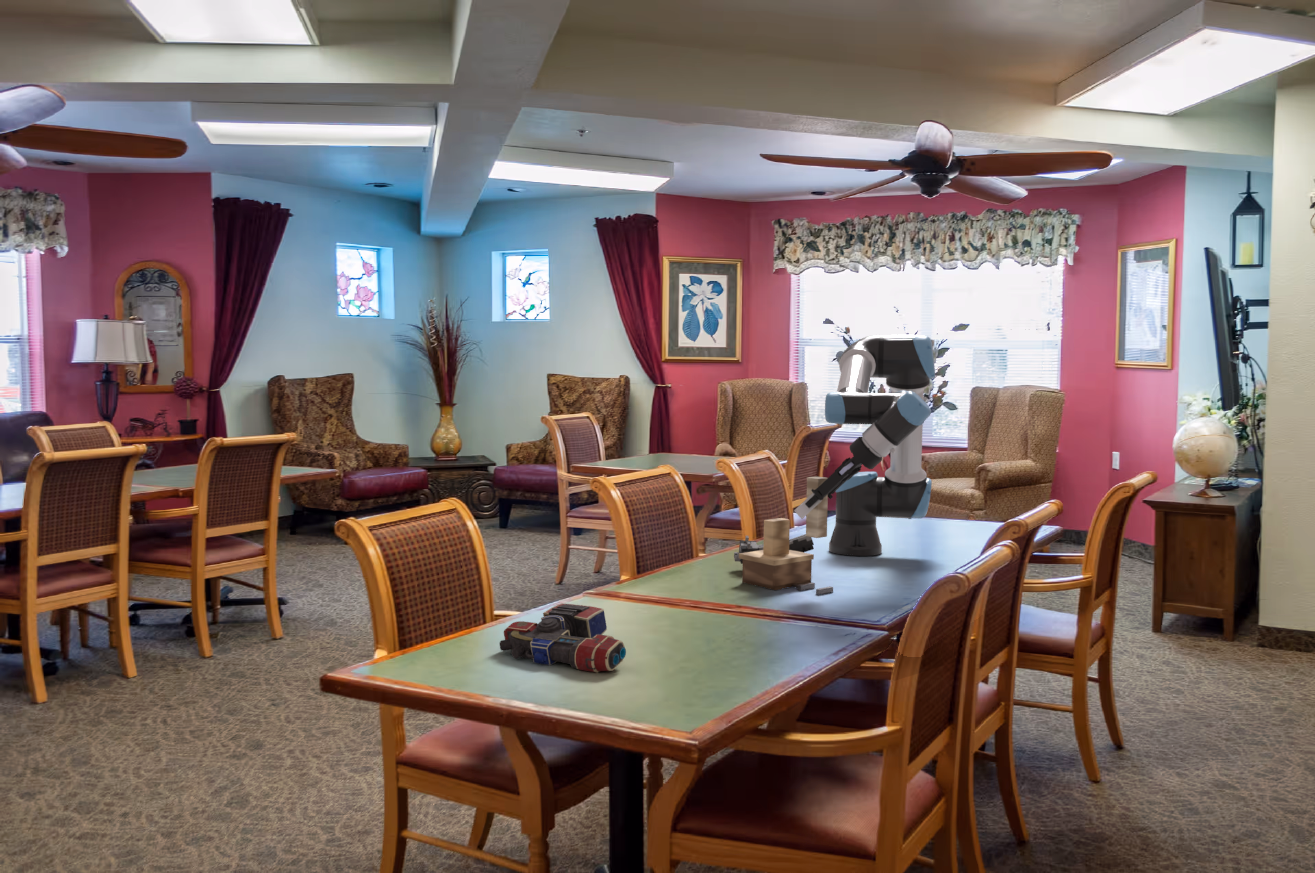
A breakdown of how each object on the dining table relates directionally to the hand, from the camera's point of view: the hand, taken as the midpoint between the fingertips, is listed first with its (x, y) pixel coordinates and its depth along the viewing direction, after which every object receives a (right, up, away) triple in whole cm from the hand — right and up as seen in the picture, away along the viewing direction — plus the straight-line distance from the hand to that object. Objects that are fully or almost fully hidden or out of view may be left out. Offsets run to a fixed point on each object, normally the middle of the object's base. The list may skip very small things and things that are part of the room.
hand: (801, 512), depth 236 cm
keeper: (+2, -19, +1) cm, 19 cm away
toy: (-4, -17, +24) cm, 30 cm away
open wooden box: (-5, -18, +9) cm, 20 cm away
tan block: (+3, -6, -1) cm, 6 cm away
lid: (-5, -12, +8) cm, 15 cm away
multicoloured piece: (-49, -22, -55) cm, 77 cm away
